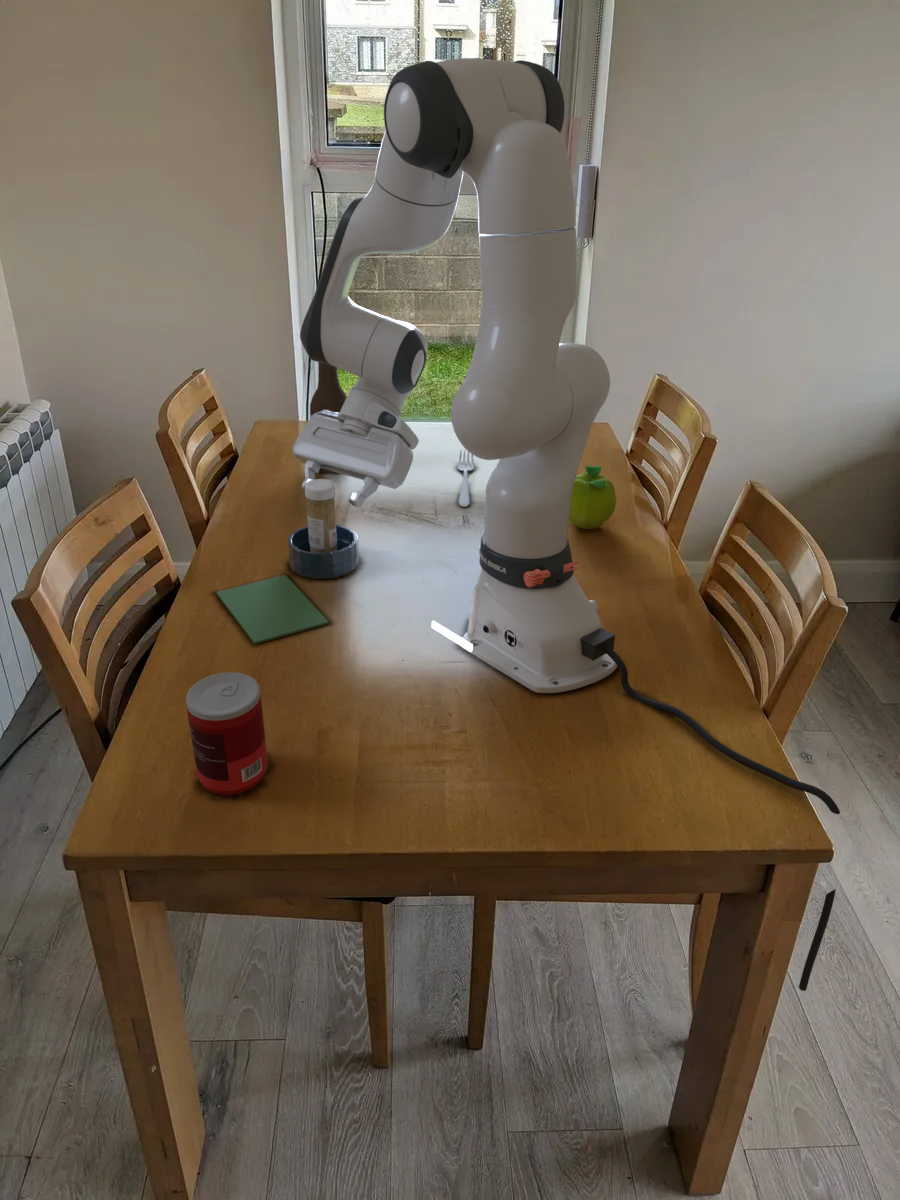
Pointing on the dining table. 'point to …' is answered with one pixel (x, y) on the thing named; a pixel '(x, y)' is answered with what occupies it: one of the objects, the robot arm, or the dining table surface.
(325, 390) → the beer bottle
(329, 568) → the dark blue bowl
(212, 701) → the canned food
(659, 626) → the dining table surface
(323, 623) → the green mat
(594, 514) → the fruit
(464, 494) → the fork
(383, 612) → the dining table surface
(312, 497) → the sprinkles bottle
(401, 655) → the dining table surface
